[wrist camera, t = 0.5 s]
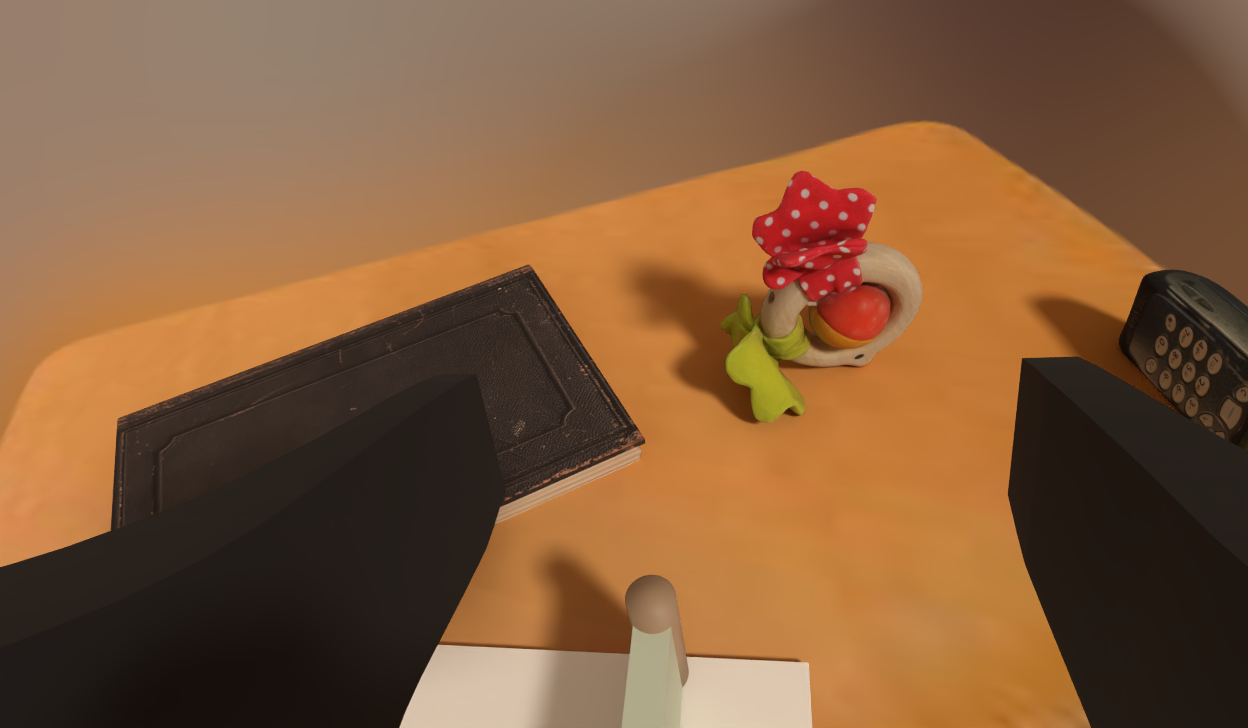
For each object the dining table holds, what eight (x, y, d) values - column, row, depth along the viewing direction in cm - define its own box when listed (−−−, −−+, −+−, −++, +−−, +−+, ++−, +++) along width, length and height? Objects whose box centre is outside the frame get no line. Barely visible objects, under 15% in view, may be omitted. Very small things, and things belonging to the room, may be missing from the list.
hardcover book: (650, 470, 36) (644, 438, 35) (134, 703, 31) (100, 678, 30) (535, 289, 47) (526, 258, 46) (141, 440, 42) (117, 411, 41)
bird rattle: (828, 350, 42) (675, 337, 39) (933, 166, 36) (757, 133, 33) (879, 434, 38) (710, 426, 35) (1010, 242, 31) (814, 211, 28)
